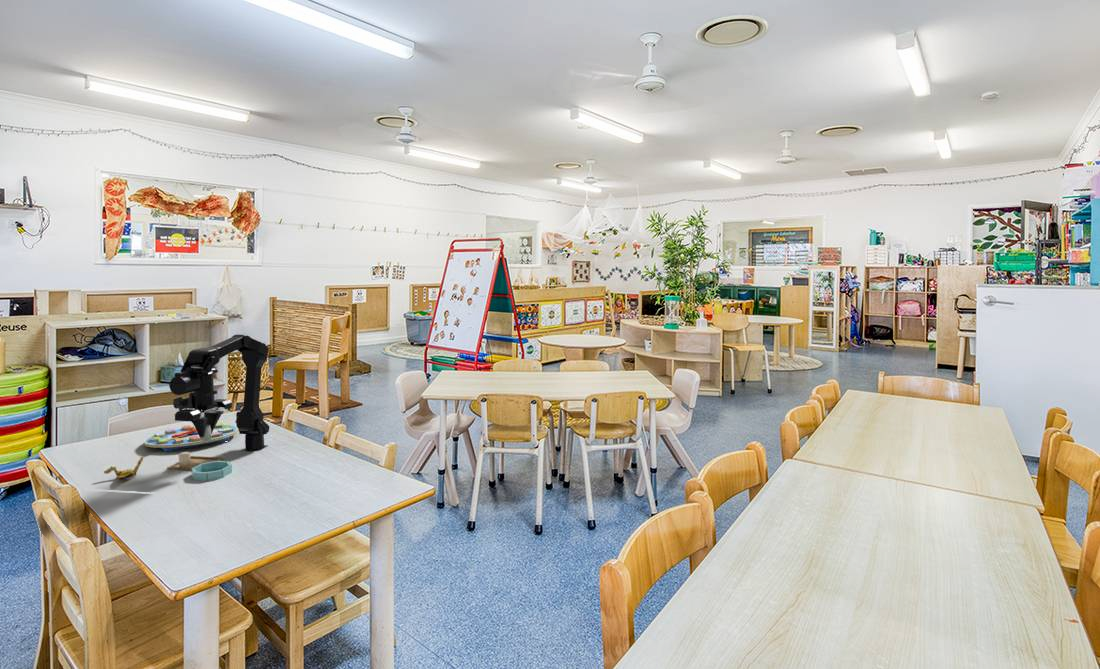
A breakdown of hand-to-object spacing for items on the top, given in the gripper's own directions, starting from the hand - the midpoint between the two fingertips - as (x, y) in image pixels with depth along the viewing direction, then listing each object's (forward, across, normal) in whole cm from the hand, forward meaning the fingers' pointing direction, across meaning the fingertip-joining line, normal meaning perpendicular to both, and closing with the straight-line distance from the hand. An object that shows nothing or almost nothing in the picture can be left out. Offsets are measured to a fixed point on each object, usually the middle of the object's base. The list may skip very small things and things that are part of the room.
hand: (205, 435), depth 183 cm
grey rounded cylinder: (+1, 0, 0) cm, 1 cm away
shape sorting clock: (+12, -28, -28) cm, 42 cm away
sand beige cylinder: (+12, -2, -10) cm, 16 cm away
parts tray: (+12, -5, -8) cm, 16 cm away
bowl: (+12, +2, +3) cm, 13 cm away
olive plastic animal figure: (+13, +9, -20) cm, 26 cm away
